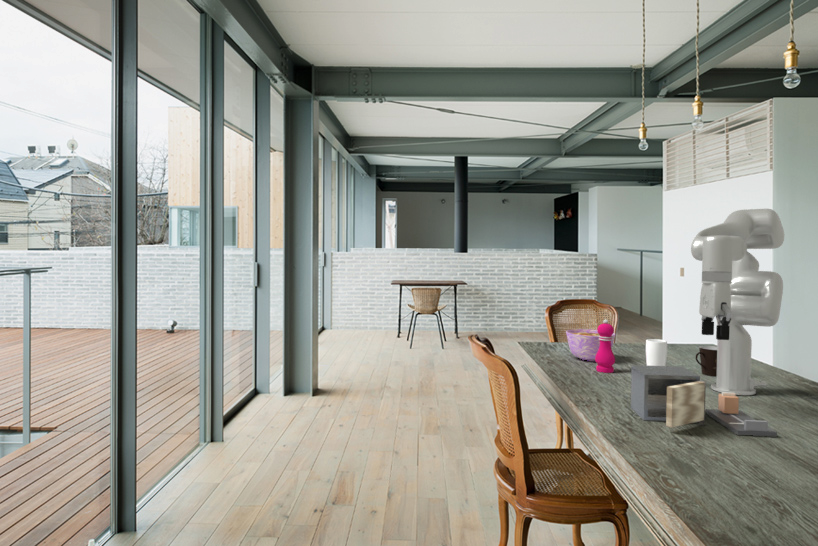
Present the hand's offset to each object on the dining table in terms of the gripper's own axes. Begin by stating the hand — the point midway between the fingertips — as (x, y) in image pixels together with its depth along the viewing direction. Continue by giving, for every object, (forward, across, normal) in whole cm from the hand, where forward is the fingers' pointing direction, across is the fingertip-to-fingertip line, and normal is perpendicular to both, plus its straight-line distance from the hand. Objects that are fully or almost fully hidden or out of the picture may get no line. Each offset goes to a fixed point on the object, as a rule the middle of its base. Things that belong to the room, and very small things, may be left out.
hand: (714, 337), depth 150 cm
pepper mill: (+21, -46, -20) cm, 54 cm away
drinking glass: (+21, -30, -6) cm, 37 cm away
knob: (+19, +7, +1) cm, 21 cm away
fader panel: (+21, +13, +1) cm, 25 cm away
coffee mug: (+20, -47, +17) cm, 54 cm away
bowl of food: (+20, -68, -21) cm, 74 cm away
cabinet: (+21, +8, -16) cm, 28 cm away
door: (+21, +19, -14) cm, 32 cm away
